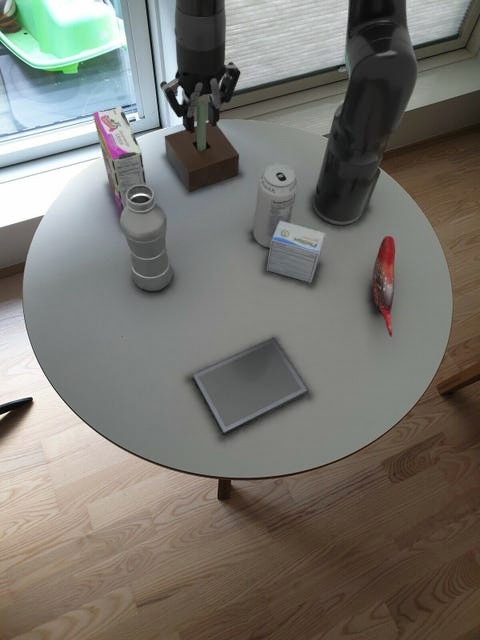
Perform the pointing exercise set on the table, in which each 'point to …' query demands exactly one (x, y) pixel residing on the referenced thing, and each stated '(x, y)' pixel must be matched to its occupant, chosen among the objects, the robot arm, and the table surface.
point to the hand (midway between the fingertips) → (201, 126)
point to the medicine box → (295, 251)
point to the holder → (201, 157)
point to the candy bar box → (119, 153)
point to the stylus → (201, 126)
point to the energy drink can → (274, 201)
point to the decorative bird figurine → (384, 279)
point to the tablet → (249, 385)
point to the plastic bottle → (146, 239)
